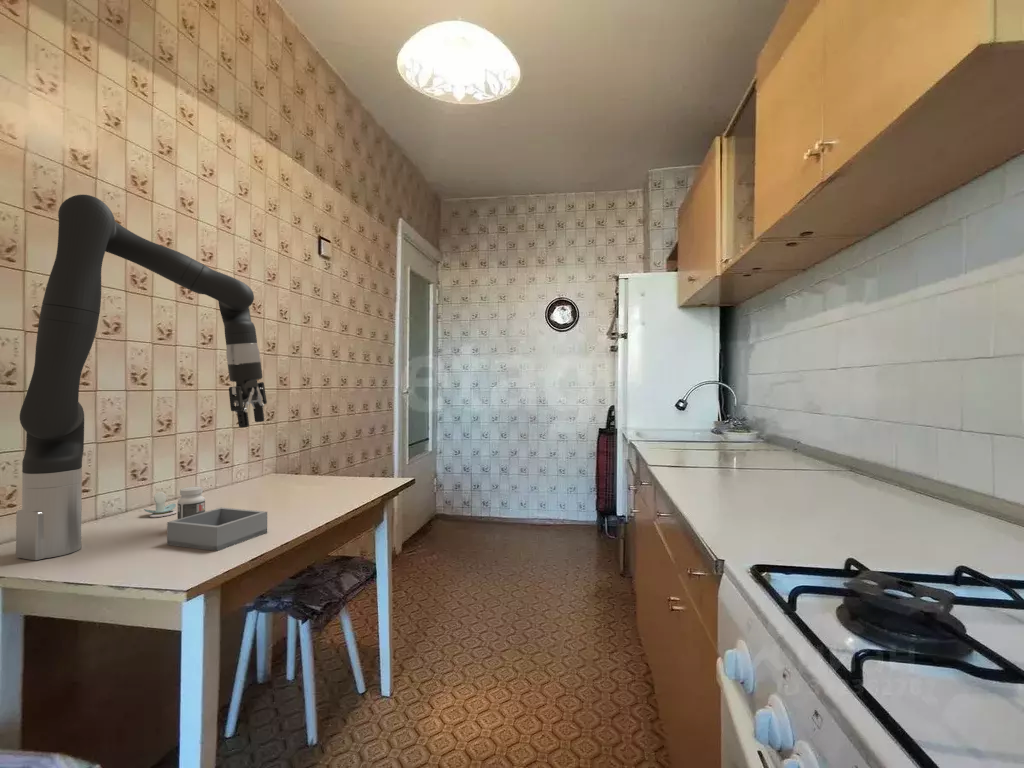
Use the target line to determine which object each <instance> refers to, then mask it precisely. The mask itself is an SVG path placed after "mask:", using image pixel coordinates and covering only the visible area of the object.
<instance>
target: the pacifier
mask: <svg viewBox="0 0 1024 768" xmlns="http://www.w3.org/2000/svg"><path fill="white" fill-rule="evenodd" d="M166 501H167V494H166V493H165V492H163V491H158V492H156V493H155V494H154V496H153V502H154V503H155V510H151V509H144V508H143V511H144V512H147V513H150V515H149V517H150V518H161V517H163V516H164V517H169V516H173V515H176V514H178V510H173V509H175V508H176V507H177V506H176V503H171V504H170V503H169V504H167V505H166V504H165V502H166ZM164 517H163V518H164Z"/></svg>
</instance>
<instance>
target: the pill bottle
mask: <svg viewBox="0 0 1024 768" xmlns="http://www.w3.org/2000/svg"><path fill="white" fill-rule="evenodd" d="M203 489H204V488H203V487H202V486H187V487H183V488H180V489H179V495H180V497H179V499H178V500H177V519H181V518H184V517H188V516H192V515H195V514H199V513H203V512H206V497H204V496H203V495H202V493H203V491H204V490H203Z"/></svg>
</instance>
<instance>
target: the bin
mask: <svg viewBox="0 0 1024 768" xmlns="http://www.w3.org/2000/svg"><path fill="white" fill-rule="evenodd" d="M166 522H167V523H166V525H167V526H166V527H167V530H166V531H167V532H166V534H167V535H166V537H167V539H166V542H167V543H166V545H167V546H175V547H182V548H191V549H197V550H198V549H199V550H207V551H213V550H215V551H214V552H218V550H219V551H221V550H224V549H227V548H229V546H230V547H232V546H235V545H237V543H238V544H240V543H242V541H243V542H246V541H249V540H251V539H254V538H257V537H259V535H260V536H262V535H264V534H267V533H268V511H264V510H263V511H262V510H253V509H241V508H231V507H218V508H215V509H211V510H205V512H203V513H199V514H195V515H192V516H188V517H184V518H181V519H178V518H177V519H173V520H169V521H166ZM248 539H249V540H248ZM245 540H246V541H245ZM234 544H235V545H234ZM226 547H227V548H226ZM223 548H224V549H223Z"/></svg>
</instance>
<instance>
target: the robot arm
mask: <svg viewBox="0 0 1024 768" xmlns="http://www.w3.org/2000/svg"><path fill="white" fill-rule="evenodd" d="M57 216H58V217H57V218H58V231H57V233H58V235H57V236H58V237H57V248H56V254H55V259H54V262H53V266H52V268H51V271H50V274H49V277H48V280H47V283H46V286H45V287H46V288H45V290H44V295H43V299H42V303H41V307H40V313H39V318H38V325H37V326H38V327H37V334H36V342H35V354H34V367H33V371H32V375H31V378H30V381H29V384H28V388H27V391H26V395H25V397H24V400H23V401H22V405H21V409H20V411H19V421H20V424H21V428H23V430H24V431H25V432H26V436H25V437H26V441H25V452H24V455H23V459H22V461H21V465H22V467H21V469H22V470H21V472H22V474H21V476H22V477H21V479H22V480H21V482H22V483H21V484H22V485H21V487H22V488H21V509H17V511H16V517H15V521H16V522H15V523H16V524H15V558H18V559H25V560H30V561H39V560H42V559H49V558H54V557H60V556H65V555H68V554H72V553H75V552H77V551H78V550H81V549H82V538H83V537H82V515H83V514H82V505H83V504H82V503H83V502H82V501H83V500H82V499H83V497H82V494H83V493H82V491H83V489H82V488H83V457H84V449H85V447H84V446H85V412H84V408H83V406H82V405H81V403H80V402H79V397H80V396H79V394H80V393H79V392H80V384H81V383H80V382H81V376H82V372H83V368H84V366H85V364H86V361H87V359H88V357H89V354H90V352H91V349H92V346H93V344H94V341H95V337H96V335H97V330H98V325H99V318H100V313H101V303H102V265H103V262H104V256H105V253H109V254H111V255H114V256H116V257H117V256H118V257H120V258H122V259H124V260H127V261H130V262H131V263H133V264H136V265H138V266H140V267H143V268H144V269H147V270H148V271H150V272H153V273H154V274H156V275H159V276H160V277H163V278H165V279H167V280H168V281H171V282H172V283H175V284H176V285H178V286H181V287H183V288H185V289H187V290H189V291H191V292H193V293H196V294H199V295H205V296H207V297H210V298H212V299H214V300H215V301H218V306H219V307H218V308H219V311H220V316H221V319H222V322H223V327H224V328H223V329H224V339H225V346H226V347H225V349H226V350H225V351H226V353H225V354H226V356H225V357H226V363H227V371H228V377H229V381H230V382H232V383H233V382H234V383H235V386H230V387H228V396H229V405H230V411H231V412H235V414H237V421H238V423H237V424H238V427H239V428H241V429H242V428H248V427H249V426H250V423H249V422H250V421H249V414H248V413H249V412H248V409H249V405H250V404H251V405H252V409H253V418H254V422H255V423H261V422H265V414H264V407H265V405H266V404H267V403H268V401H267V396H266V395H267V394H266V387H265V383H264V382H263V381H262V382H258V380H260V379H261V380H262V379H263V370H262V362H261V353H260V349H259V346H258V338H257V332H256V331H257V330H256V327H255V324H254V322H252V319H251V312H250V307H251V306H252V304H253V303H254V299H255V294H254V292H253V290H252V289H251V287H250V286H249V285H248V284H246V283H245V282H243V281H241V280H240V279H237V278H235V277H232V276H231V275H228V274H225V273H223V272H219V271H217V270H214V269H212V268H210V267H209V266H207V265H206V264H203V263H201V262H200V261H197V260H196V259H194V258H192V257H190V256H188V255H186V254H184V253H181V252H179V251H177V250H175V249H171V248H169V247H166V246H164V245H160V244H158V243H156V242H153V241H151V240H148V239H146V238H143V237H142V236H140V235H138V234H136V233H134V232H132V231H131V230H129V229H127V228H126V227H125V226H123V225H121V224H120V223H119V222H117V221H116V219H115V217H114V216H115V215H114V213H113V211H112V210H111V209H110V207H108V205H107V204H106V203H105V202H104V201H102V199H99V198H98V197H95V196H93V195H89V194H76V195H72V196H70V197H68V198H67V199H65V200H64V201H63V202H62V203H61V204H60V206H59V209H58V214H57Z"/></svg>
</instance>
